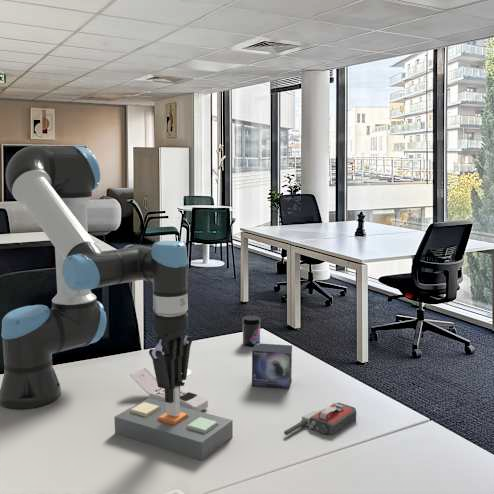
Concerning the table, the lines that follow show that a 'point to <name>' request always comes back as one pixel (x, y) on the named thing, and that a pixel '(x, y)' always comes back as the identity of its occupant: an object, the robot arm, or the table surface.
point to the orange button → (173, 418)
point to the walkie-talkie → (327, 419)
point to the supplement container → (251, 330)
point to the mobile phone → (156, 393)
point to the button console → (174, 431)
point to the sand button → (145, 409)
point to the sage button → (202, 425)
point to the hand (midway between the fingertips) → (173, 414)
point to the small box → (272, 365)
